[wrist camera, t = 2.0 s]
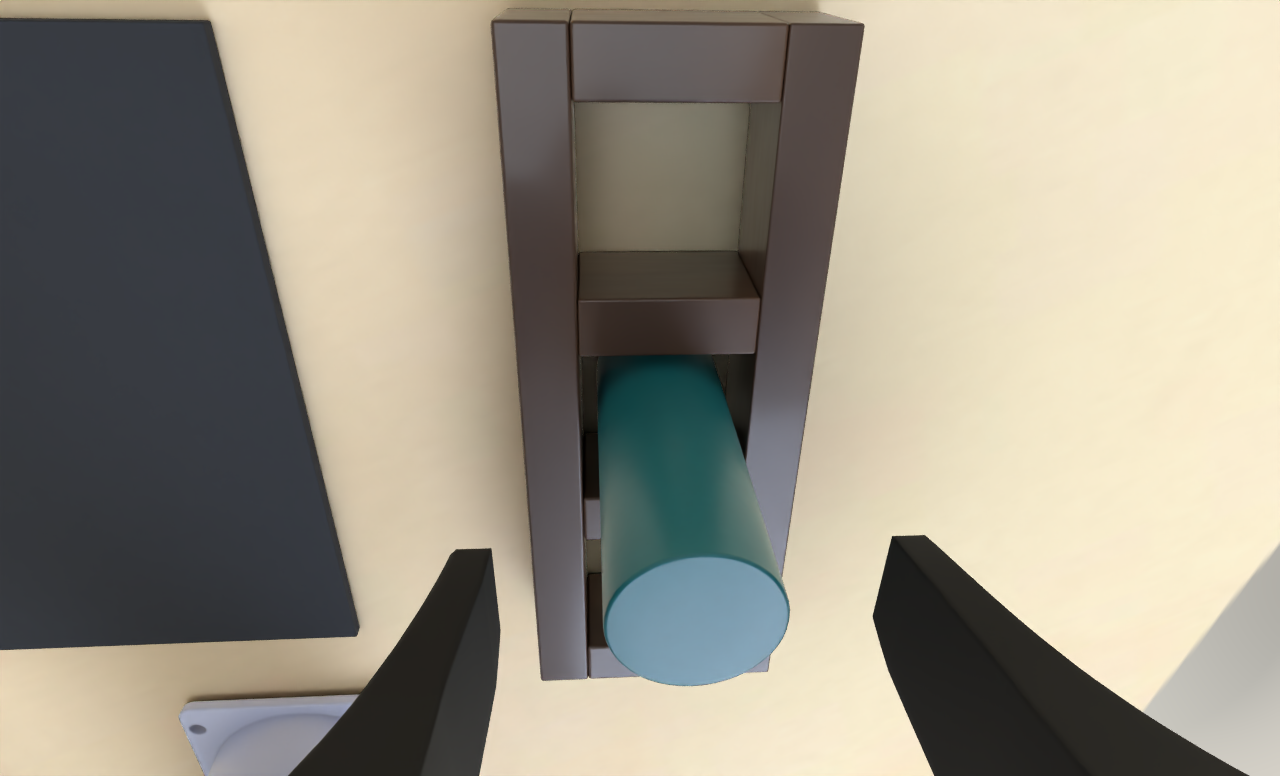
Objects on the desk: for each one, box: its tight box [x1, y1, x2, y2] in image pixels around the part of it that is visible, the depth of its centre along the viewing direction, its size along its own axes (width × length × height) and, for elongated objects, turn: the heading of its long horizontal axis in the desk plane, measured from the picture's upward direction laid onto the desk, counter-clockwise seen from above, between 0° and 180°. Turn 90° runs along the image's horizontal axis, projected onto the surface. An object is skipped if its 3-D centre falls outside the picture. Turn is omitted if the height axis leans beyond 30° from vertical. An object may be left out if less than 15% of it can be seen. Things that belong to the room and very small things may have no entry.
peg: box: [596, 354, 790, 686], centre depth 17 cm, size 3×3×9 cm
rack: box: [491, 8, 865, 681], centre depth 19 cm, size 7×18×3 cm, turn 179°
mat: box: [0, 18, 360, 650], centre depth 20 cm, size 18×12×1 cm, turn 179°
